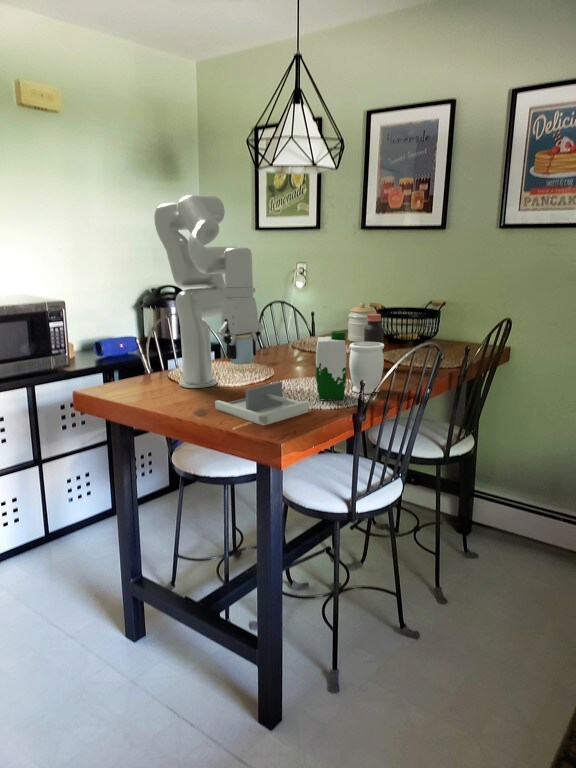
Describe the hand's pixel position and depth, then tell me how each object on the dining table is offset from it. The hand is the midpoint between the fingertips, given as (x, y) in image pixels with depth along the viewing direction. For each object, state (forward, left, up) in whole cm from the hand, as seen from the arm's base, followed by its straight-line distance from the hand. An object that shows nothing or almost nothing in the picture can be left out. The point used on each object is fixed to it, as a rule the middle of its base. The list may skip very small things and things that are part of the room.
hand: (241, 356), depth 162 cm
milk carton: (+12, +24, -15) cm, 31 cm away
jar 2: (+15, +37, -15) cm, 43 cm away
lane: (+7, 0, -15) cm, 16 cm away
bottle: (-3, +63, -15) cm, 65 cm away
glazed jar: (0, 0, -2) cm, 2 cm away
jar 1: (-45, +107, -15) cm, 117 cm away
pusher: (+13, 0, -14) cm, 19 cm away
